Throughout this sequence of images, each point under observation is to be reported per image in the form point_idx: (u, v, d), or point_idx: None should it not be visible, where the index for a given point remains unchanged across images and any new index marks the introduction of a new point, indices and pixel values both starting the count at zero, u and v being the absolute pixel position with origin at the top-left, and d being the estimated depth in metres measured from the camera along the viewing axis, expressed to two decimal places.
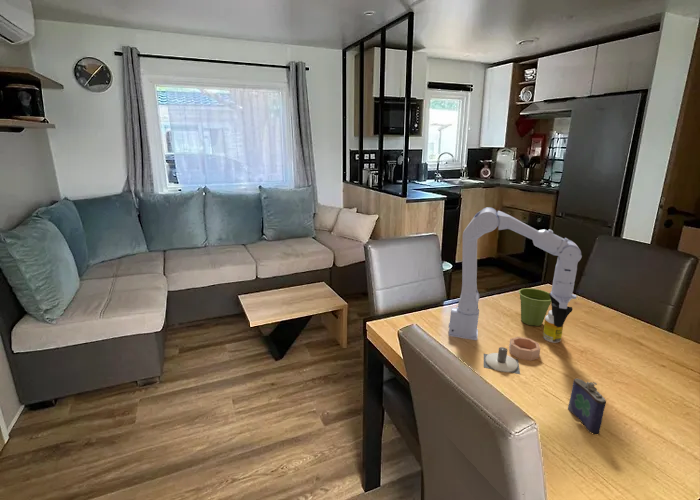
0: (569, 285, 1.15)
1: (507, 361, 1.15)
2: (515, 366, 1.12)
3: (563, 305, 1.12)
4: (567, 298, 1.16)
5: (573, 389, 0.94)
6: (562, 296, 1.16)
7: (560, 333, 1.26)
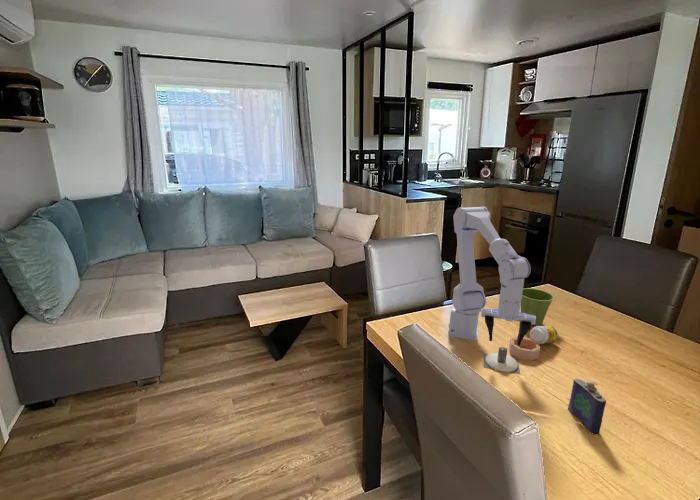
0: (500, 301, 1.09)
1: (507, 361, 1.15)
2: (515, 366, 1.12)
3: (481, 312, 1.13)
4: (498, 314, 1.10)
5: (573, 389, 0.94)
6: (497, 310, 1.11)
7: (552, 339, 1.24)
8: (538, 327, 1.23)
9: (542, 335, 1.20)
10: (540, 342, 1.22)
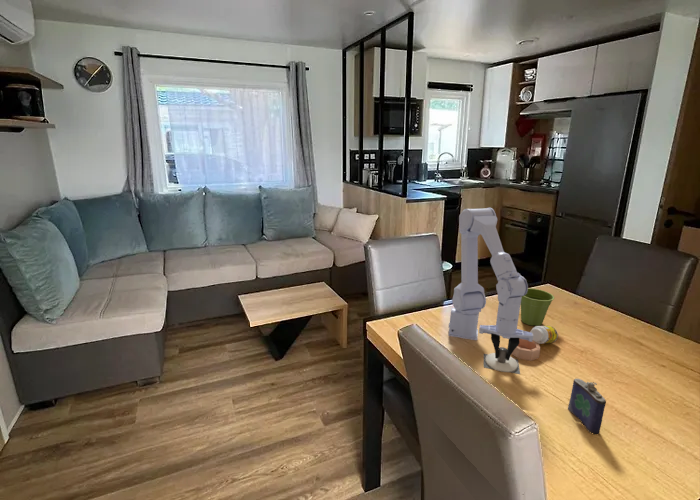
0: (498, 318, 1.10)
1: (507, 361, 1.15)
2: (515, 366, 1.12)
3: (479, 328, 1.14)
4: (495, 331, 1.12)
5: (573, 389, 0.94)
6: (495, 327, 1.13)
7: (552, 339, 1.24)
8: (538, 327, 1.23)
9: (542, 335, 1.20)
10: (540, 342, 1.22)
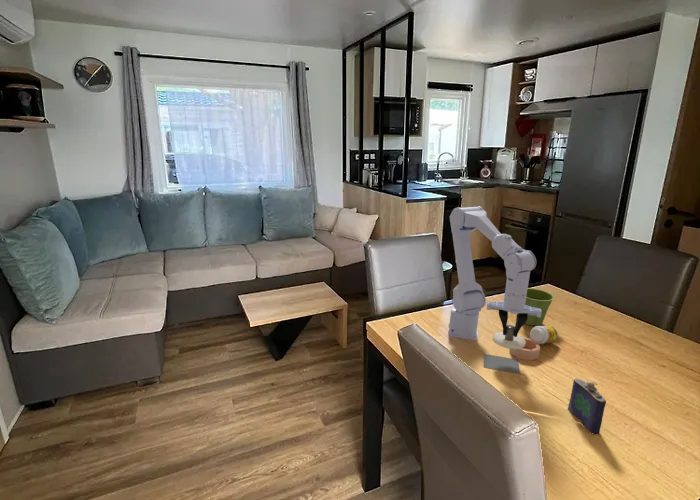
0: (506, 294, 1.10)
1: (515, 339, 1.14)
2: (523, 343, 1.11)
3: (487, 305, 1.14)
4: (503, 307, 1.11)
5: (573, 389, 0.94)
6: (503, 303, 1.12)
7: (552, 339, 1.24)
8: (538, 327, 1.23)
9: (542, 335, 1.20)
10: (540, 342, 1.22)
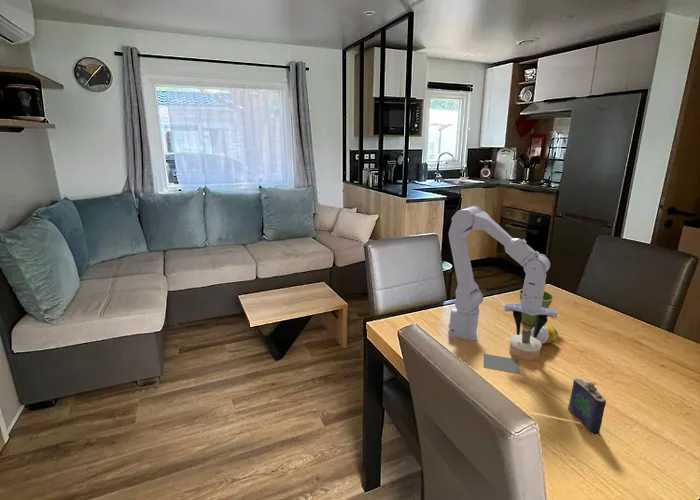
0: (523, 296, 1.15)
1: (531, 341, 1.19)
2: (539, 346, 1.17)
3: None
4: (521, 309, 1.16)
5: (573, 389, 0.94)
6: (520, 305, 1.18)
7: (552, 339, 1.24)
8: None
9: (542, 335, 1.20)
10: None
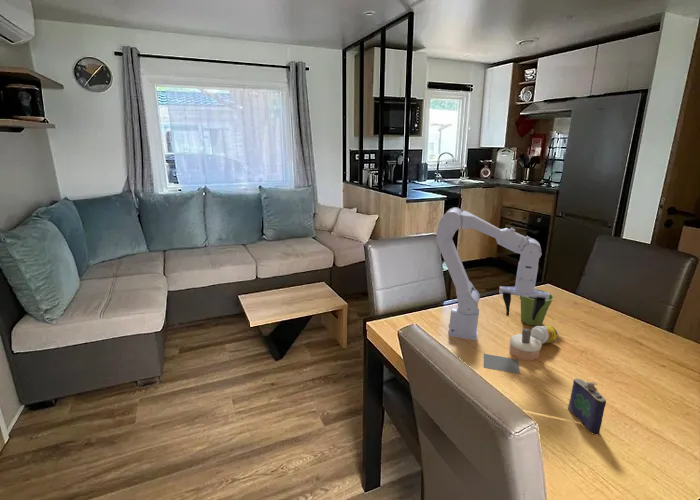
0: (517, 279, 1.20)
1: (531, 341, 1.19)
2: (539, 346, 1.17)
3: (499, 289, 1.24)
4: (515, 291, 1.21)
5: (573, 389, 0.94)
6: (514, 288, 1.23)
7: (552, 339, 1.24)
8: (538, 327, 1.23)
9: (542, 335, 1.20)
10: None
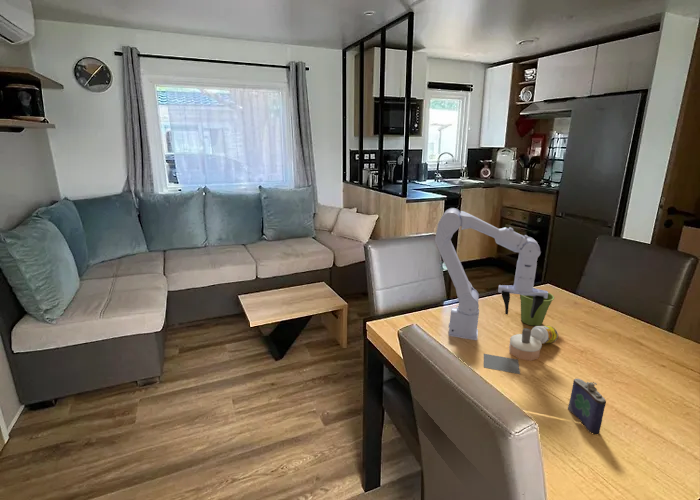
0: (516, 277, 1.21)
1: (531, 341, 1.19)
2: (539, 346, 1.17)
3: (498, 288, 1.25)
4: (514, 289, 1.22)
5: (573, 389, 0.94)
6: (513, 286, 1.24)
7: (552, 339, 1.24)
8: (538, 327, 1.23)
9: (542, 335, 1.20)
10: None
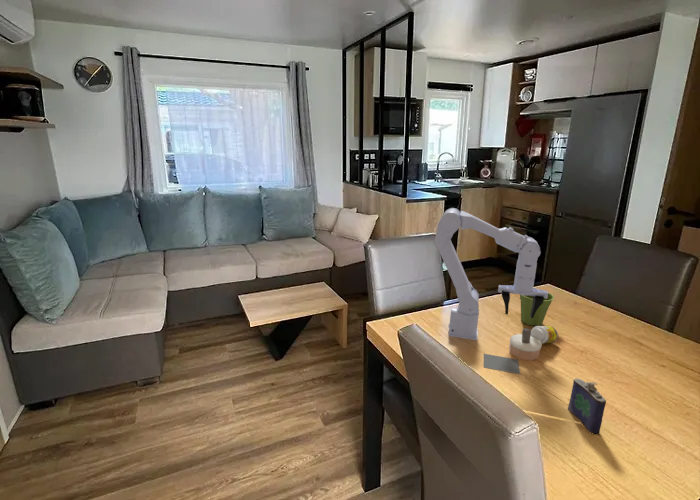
0: (516, 277, 1.21)
1: (531, 341, 1.19)
2: (539, 346, 1.17)
3: (498, 288, 1.25)
4: (514, 289, 1.22)
5: (573, 389, 0.94)
6: (513, 286, 1.24)
7: (552, 339, 1.24)
8: (538, 327, 1.23)
9: (542, 335, 1.20)
10: None
